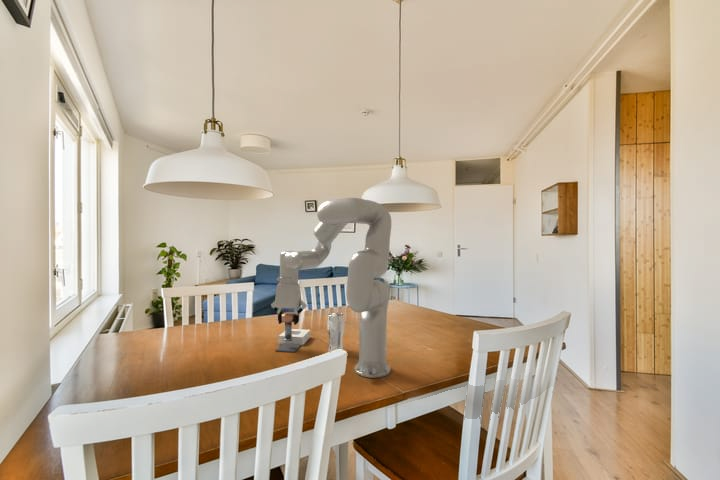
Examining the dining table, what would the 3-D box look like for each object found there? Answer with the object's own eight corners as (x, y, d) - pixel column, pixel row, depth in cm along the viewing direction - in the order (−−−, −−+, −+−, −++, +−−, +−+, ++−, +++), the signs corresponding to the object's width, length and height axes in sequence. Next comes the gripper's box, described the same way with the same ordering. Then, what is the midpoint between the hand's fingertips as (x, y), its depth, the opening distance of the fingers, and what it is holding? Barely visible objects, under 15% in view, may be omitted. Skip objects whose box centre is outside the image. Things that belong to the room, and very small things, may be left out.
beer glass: (333, 346, 133) (333, 311, 133) (347, 349, 130) (347, 313, 130) (323, 351, 127) (324, 314, 127) (338, 354, 124) (338, 317, 124)
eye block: (302, 345, 135) (302, 337, 135) (278, 343, 136) (278, 335, 136) (310, 337, 146) (310, 329, 146) (287, 336, 147) (287, 328, 147)
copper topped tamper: (292, 342, 127) (292, 315, 127) (278, 341, 128) (278, 315, 128) (297, 338, 133) (297, 312, 133) (284, 337, 134) (284, 311, 134)
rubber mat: (294, 352, 126) (294, 351, 126) (275, 351, 127) (275, 350, 127) (300, 345, 134) (300, 344, 134) (283, 344, 135) (283, 343, 135)
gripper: (265, 281, 128) (264, 324, 128) (306, 282, 125) (305, 327, 126) (273, 278, 135) (272, 320, 135) (311, 280, 133) (310, 322, 133)
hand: (288, 323), depth 130 cm, fingers closed on copper topped tamper, 6 cm apart
